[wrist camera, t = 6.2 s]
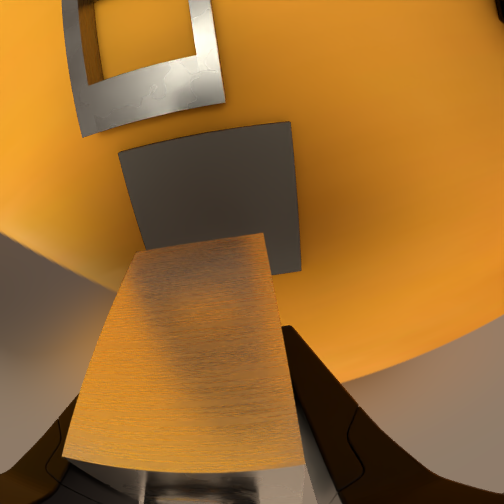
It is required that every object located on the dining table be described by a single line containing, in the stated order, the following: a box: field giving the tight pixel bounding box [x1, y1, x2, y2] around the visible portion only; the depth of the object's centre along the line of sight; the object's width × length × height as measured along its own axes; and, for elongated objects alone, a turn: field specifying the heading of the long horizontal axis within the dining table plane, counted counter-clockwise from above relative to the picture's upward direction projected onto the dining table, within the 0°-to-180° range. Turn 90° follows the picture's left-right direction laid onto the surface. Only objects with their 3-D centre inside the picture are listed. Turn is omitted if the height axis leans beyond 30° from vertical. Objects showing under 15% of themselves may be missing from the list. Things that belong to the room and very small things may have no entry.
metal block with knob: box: [62, 233, 305, 504], centre depth 7 cm, size 4×4×8 cm
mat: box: [118, 122, 301, 275], centre depth 17 cm, size 9×9×1 cm
